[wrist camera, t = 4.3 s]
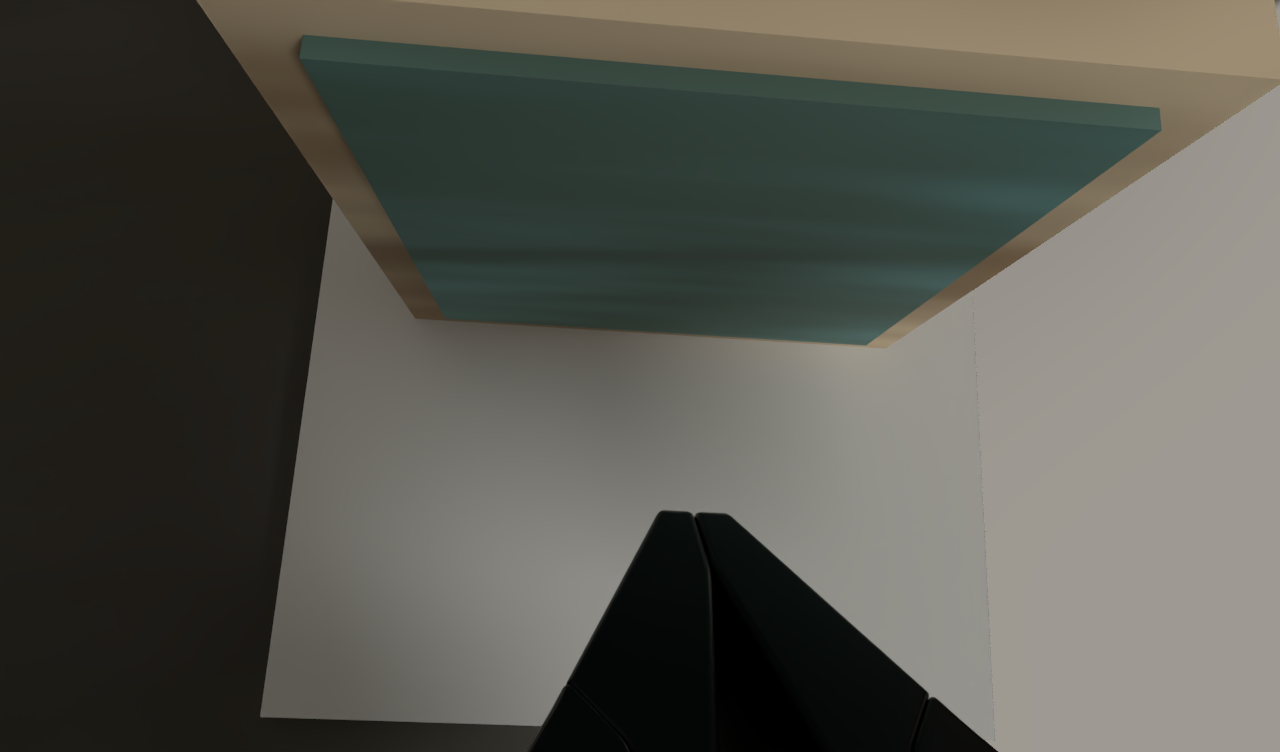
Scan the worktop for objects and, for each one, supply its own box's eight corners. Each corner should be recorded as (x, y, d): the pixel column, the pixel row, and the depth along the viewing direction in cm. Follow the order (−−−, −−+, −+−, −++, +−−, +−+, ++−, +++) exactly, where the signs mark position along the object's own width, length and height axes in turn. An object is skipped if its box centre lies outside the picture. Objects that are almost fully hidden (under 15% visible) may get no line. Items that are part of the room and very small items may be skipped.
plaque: (885, 359, 17) (1289, 103, 7) (414, 330, 17) (178, 7, 7) (883, 244, 18) (1253, -135, 8) (427, 211, 17) (227, -245, 7)
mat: (980, 733, 16) (995, 740, 16) (272, 711, 15) (260, 716, 15) (942, -64, 20) (953, -83, 20) (386, -119, 20) (380, -140, 19)
